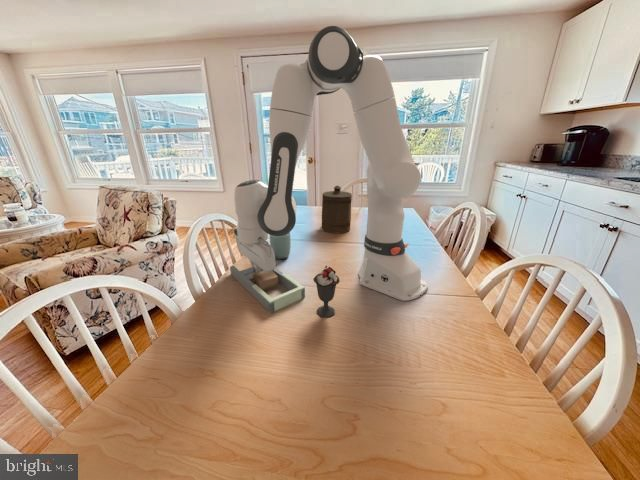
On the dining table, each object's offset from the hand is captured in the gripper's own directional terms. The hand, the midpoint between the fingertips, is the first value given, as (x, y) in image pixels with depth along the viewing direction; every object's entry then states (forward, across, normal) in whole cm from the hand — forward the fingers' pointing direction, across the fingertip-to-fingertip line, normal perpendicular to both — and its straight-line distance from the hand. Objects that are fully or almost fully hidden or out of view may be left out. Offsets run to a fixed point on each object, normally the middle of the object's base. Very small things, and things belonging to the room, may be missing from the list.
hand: (257, 272), depth 84 cm
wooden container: (+2, +20, -55) cm, 58 cm away
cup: (+2, +9, -15) cm, 17 cm away
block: (+2, -6, 0) cm, 6 cm away
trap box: (+2, -6, 0) cm, 6 cm away
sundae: (+2, -28, -6) cm, 29 cm away
